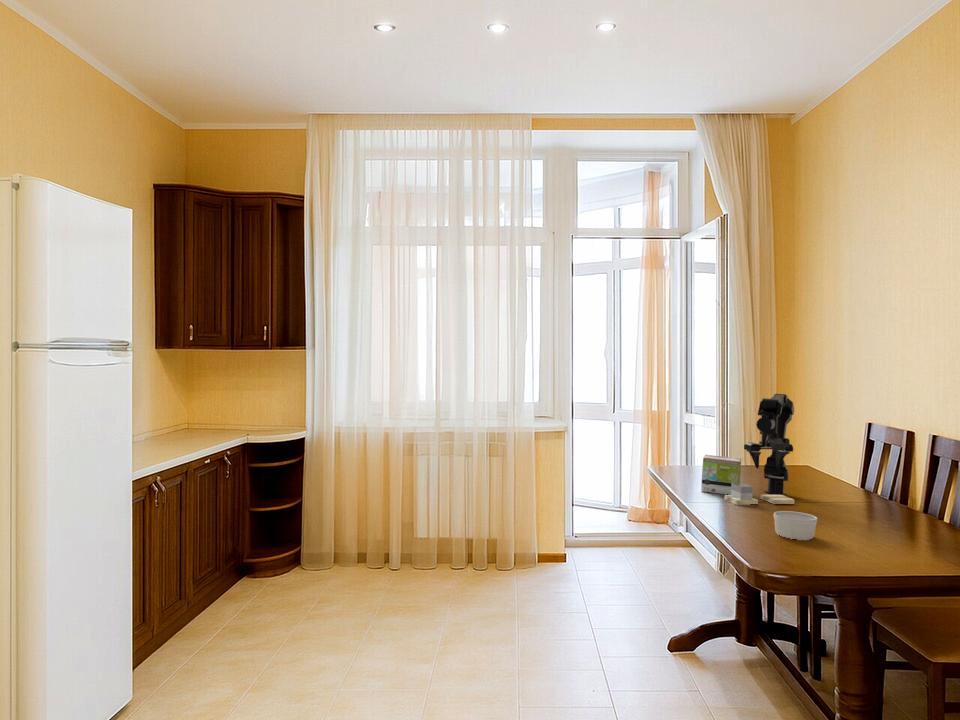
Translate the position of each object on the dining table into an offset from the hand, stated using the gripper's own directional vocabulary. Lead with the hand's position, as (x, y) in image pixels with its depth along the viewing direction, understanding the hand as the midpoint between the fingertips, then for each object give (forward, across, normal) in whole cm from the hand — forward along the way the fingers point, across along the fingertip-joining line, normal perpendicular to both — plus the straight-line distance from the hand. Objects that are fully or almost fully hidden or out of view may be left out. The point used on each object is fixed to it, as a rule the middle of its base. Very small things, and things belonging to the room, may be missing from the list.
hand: (767, 468), depth 289 cm
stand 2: (+13, +3, -3) cm, 14 cm away
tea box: (+13, -11, +16) cm, 24 cm away
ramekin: (+13, -22, -50) cm, 56 cm away
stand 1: (+13, -13, -3) cm, 19 cm away
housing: (+11, -13, -3) cm, 17 cm away
